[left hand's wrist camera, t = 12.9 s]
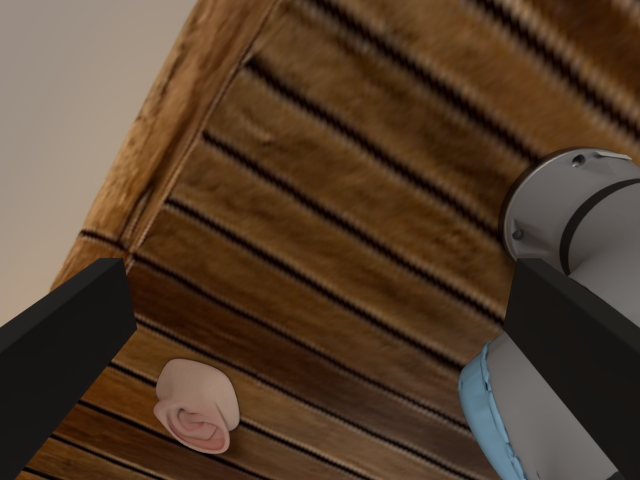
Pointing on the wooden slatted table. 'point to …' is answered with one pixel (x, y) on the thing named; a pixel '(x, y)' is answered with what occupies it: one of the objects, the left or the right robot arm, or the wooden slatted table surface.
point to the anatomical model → (197, 405)
